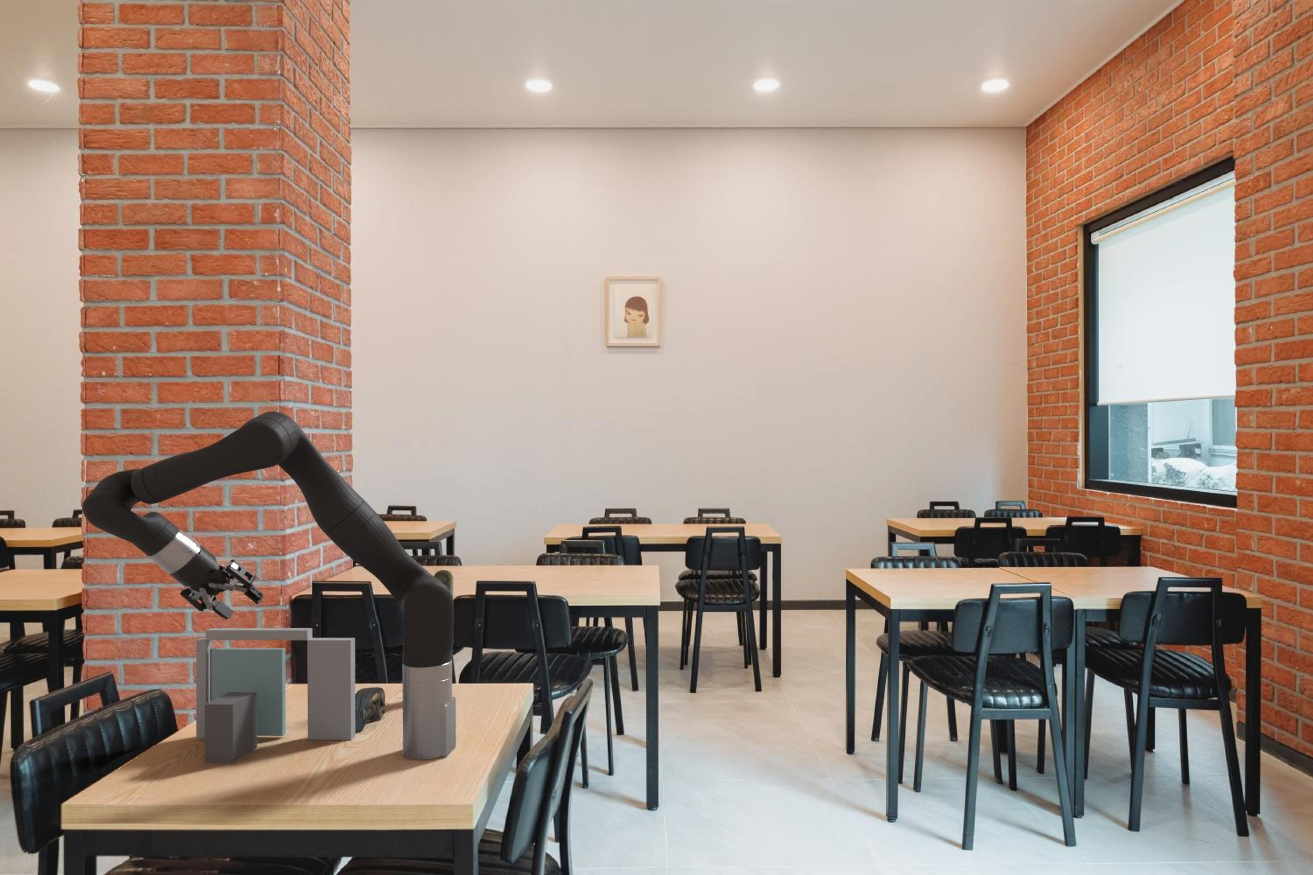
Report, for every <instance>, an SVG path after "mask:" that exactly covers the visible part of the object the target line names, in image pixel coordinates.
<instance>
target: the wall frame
mask: <svg viewBox="0 0 1313 875" xmlns="http://www.w3.org/2000/svg"><path fill="white" fill-rule="evenodd" d="M212 641H307V648H306V649H307V651H306V652H307V653H306V654H307V656H306V657H307V740H308V741H309V740H311V741H315V740H316V741H317V740H320V741H321V740H324V741H325V740H326V741H335V740H337V741H352V740H353V739H354V738H356V732H355V694H356V638H355V637H313V628H312V627H311V628H310V627H308V628H307V627H305V628H304V627H300V628H299V627H294V628H292V627H290V628H289V627H283V628H282V627H271V628H268V627H266V628H265V627H263V628H262V627H260V628H259V627H252V628H251V627H247V628H246V627H242V628H241V627H237V628H236V627H229V628H228V627H227V628H226V627H223V628H222V627H213V628H209V629H205V637H201V638H198V639H196V641H195V642H196V643H195V644H196V646H195V648H196V649H195V650H196V652H195V653H196V654H195V655H196V656H195V666H196V670H195V671H196V672H195V676H196V678H195V680H196V682H195V683H196V685H195V690H196V691H195V693H196V694H195V696H196V697H195V698H196V699H195V700H196V701H195V704H196V705H195V710H196V711H195V712H196V714H195V721H196V723H195V725H196V726H195V728H196V729H195V730H196V731H195V735H196V736H195V739H196V740H197V739H203V738H205V704H206V703H208V702H210V649H211V648H212V647H213V646H212V645H213V642H212Z"/></svg>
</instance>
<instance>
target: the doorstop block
mask: <svg viewBox="0 0 1313 875" xmlns="http://www.w3.org/2000/svg"><path fill="white" fill-rule="evenodd" d="M256 748H257V749H258V736H257V692H229V693H227V694H225V695H223V696H221V697H219V698H217V699H215V700H213V701H211V702H208V703H206V704H205V739H204V764H212V765H213V764H215V765H216V764H217V765H218V764H219V765H220V764H223V765H224V764H225V765H226V764H229V765H232V764H235V763H237V762H238V761H239V759H240V760H241V759H243V758H244V757H245V756H247V755H248V754H250V753H252V752H254V751H255V750H257V749H256Z"/></svg>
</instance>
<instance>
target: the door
mask: <svg viewBox="0 0 1313 875" xmlns="http://www.w3.org/2000/svg"><path fill="white" fill-rule="evenodd" d="M229 692H257V737H283V736H285V735H286V733H287V732H286V723H287V722H286V717H287V716H286V714H287V713H286V711H287V710H286V648H284V647H280V648H279V647H278V648H277V647H276V648H275V647H213V648H211V649H210V702H211V701H213V700H215V699H217V698H219V697H221V696H223V695H225V694H227V693H229Z"/></svg>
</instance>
